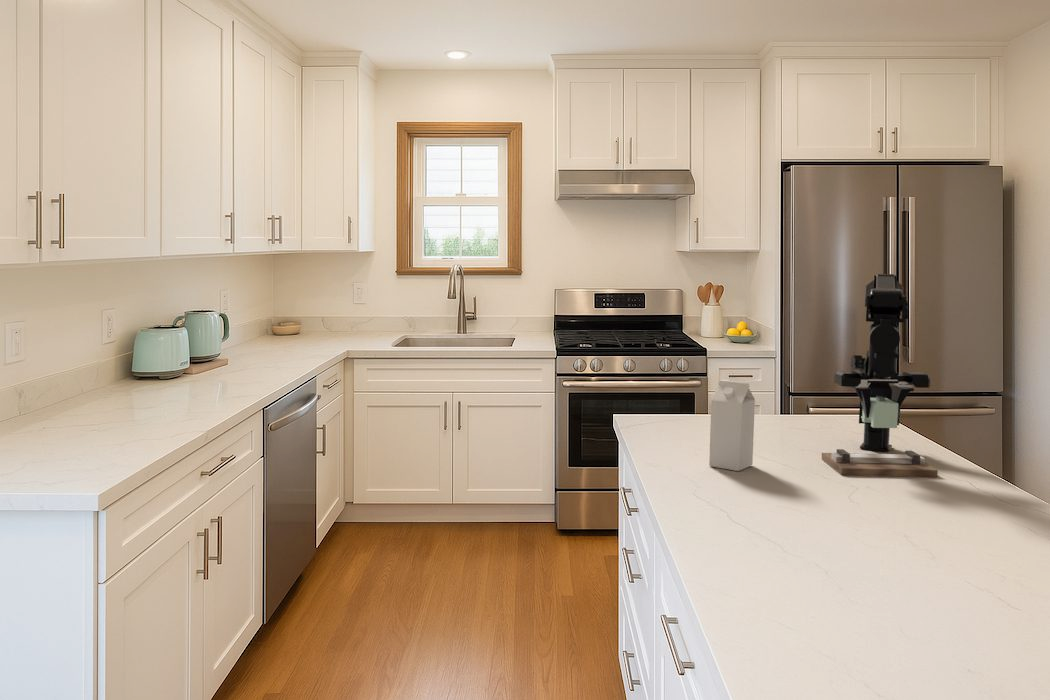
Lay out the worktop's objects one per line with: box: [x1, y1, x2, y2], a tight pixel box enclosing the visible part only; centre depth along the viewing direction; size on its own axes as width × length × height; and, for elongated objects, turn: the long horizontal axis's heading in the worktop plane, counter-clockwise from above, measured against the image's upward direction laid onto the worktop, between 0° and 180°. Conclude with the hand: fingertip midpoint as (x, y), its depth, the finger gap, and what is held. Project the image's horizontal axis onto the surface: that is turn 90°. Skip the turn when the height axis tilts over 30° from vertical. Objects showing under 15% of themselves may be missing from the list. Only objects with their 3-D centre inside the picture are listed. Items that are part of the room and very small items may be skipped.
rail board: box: [821, 448, 939, 478], centre depth 179 cm, size 20×14×4 cm
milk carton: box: [709, 380, 756, 472], centre depth 179 cm, size 7×7×19 cm
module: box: [861, 396, 898, 429], centre depth 177 cm, size 5×7×6 cm
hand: (879, 417), depth 178 cm, fingers closed on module, 5 cm apart
